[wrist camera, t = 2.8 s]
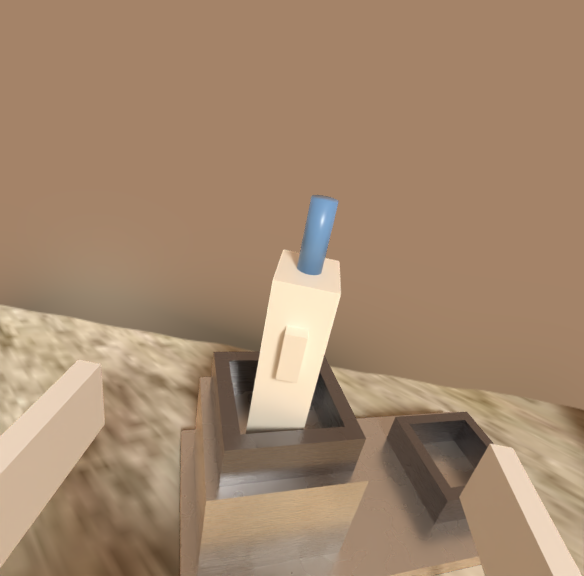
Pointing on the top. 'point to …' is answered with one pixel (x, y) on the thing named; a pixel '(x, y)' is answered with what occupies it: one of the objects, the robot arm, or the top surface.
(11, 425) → the robot arm
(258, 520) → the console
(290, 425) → the plug
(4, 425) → the top surface
